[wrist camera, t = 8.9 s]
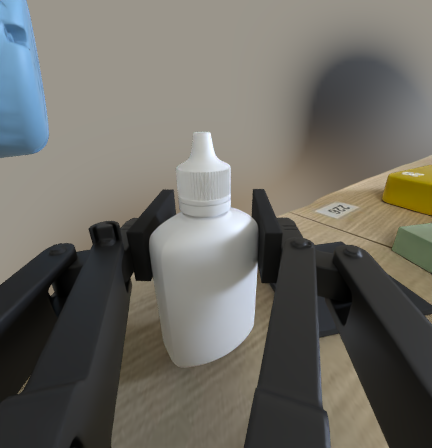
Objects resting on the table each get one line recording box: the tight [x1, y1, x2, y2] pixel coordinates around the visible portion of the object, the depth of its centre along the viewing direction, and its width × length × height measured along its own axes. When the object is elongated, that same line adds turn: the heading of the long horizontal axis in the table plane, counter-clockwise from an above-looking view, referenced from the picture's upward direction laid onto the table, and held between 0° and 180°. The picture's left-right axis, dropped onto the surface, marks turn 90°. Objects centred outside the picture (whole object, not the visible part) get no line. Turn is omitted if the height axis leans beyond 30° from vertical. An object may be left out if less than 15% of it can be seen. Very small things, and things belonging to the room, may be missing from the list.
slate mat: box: [258, 242, 432, 337], centre depth 21 cm, size 10×10×1 cm
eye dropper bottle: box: [149, 132, 259, 368], centre depth 13 cm, size 4×6×12 cm
